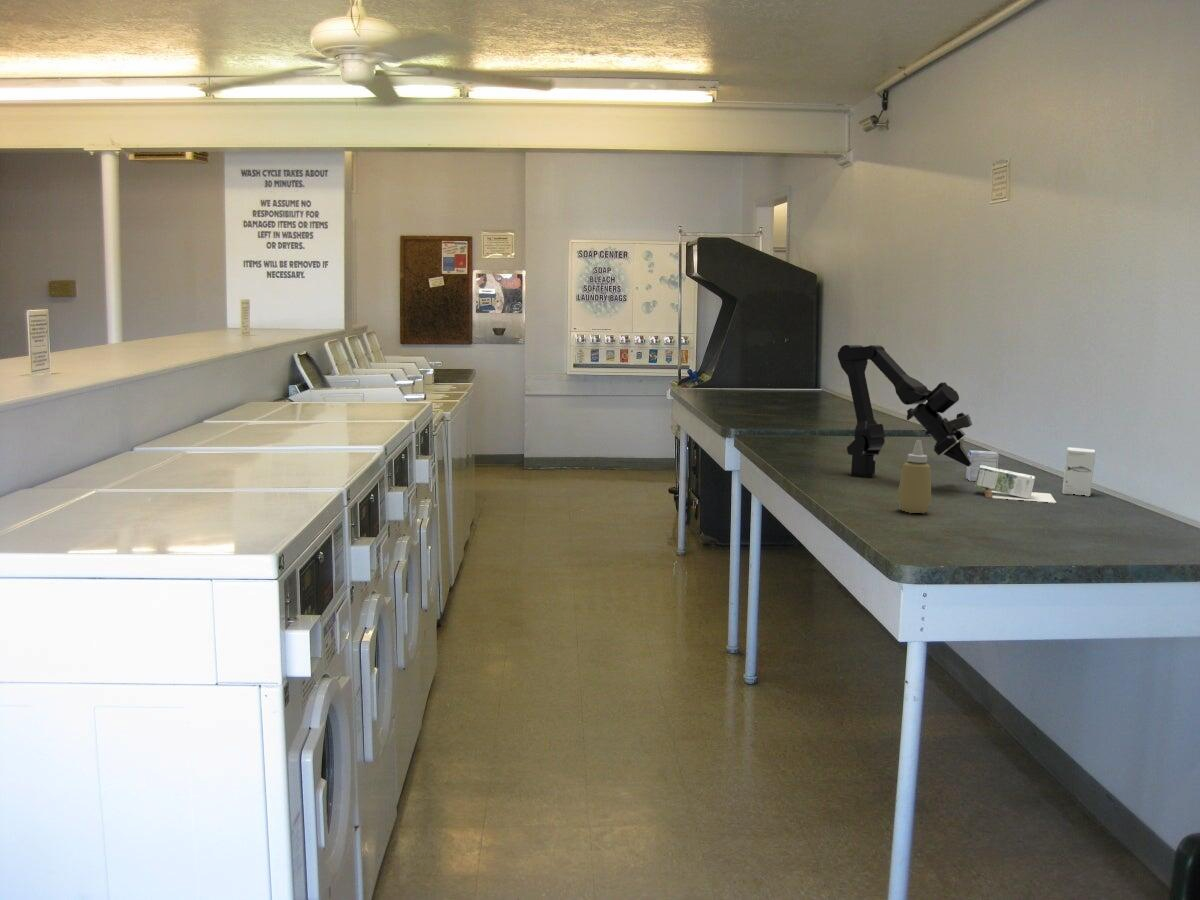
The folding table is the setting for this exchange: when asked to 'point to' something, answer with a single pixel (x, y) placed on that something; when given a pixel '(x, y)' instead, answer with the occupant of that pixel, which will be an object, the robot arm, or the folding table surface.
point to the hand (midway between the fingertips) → (970, 465)
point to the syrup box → (1005, 481)
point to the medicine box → (980, 462)
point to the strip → (988, 493)
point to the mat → (1034, 497)
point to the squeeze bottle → (915, 482)
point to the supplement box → (1078, 471)
